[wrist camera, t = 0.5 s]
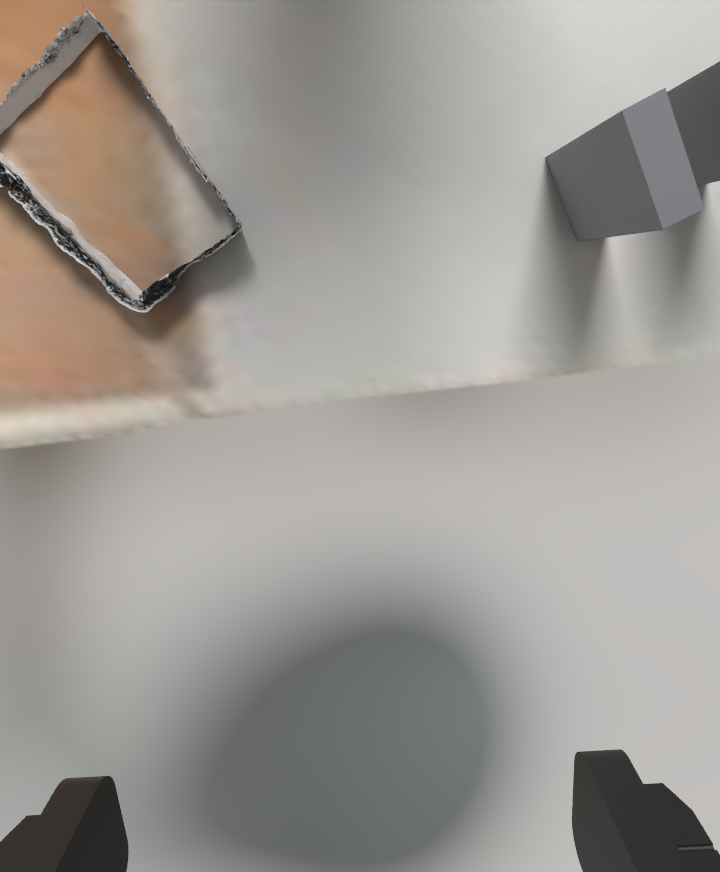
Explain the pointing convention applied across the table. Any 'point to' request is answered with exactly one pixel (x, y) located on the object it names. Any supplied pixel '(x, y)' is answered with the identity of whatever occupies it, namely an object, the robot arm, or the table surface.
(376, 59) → the table surface
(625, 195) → the domino
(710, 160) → the domino
